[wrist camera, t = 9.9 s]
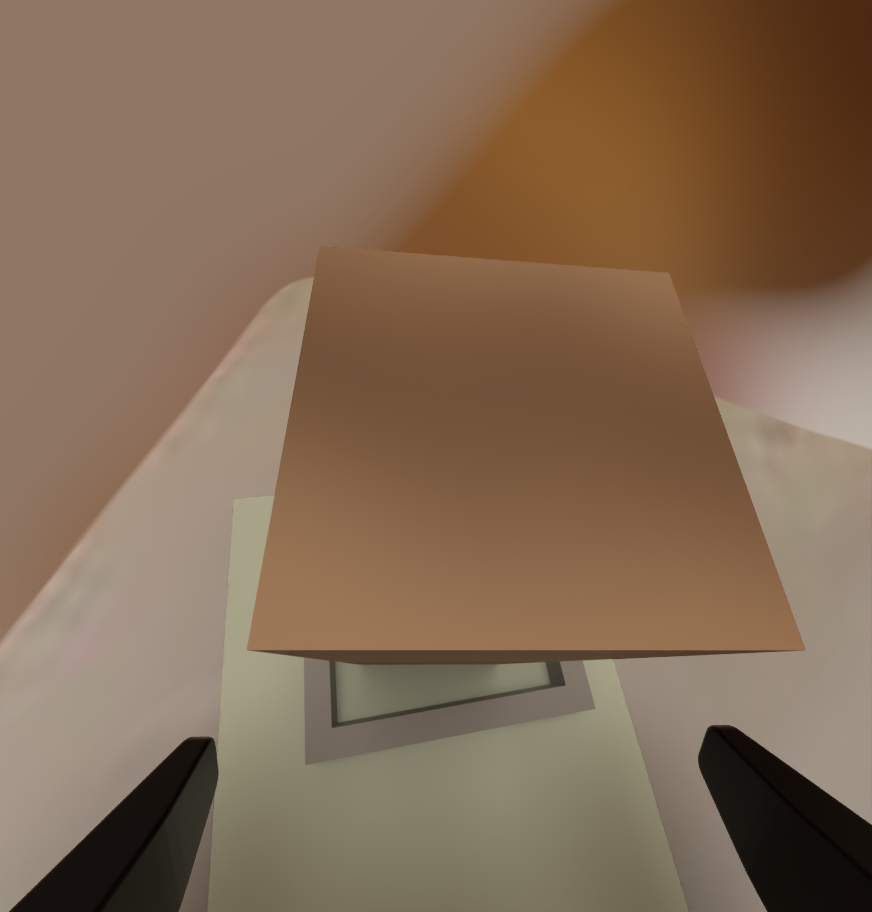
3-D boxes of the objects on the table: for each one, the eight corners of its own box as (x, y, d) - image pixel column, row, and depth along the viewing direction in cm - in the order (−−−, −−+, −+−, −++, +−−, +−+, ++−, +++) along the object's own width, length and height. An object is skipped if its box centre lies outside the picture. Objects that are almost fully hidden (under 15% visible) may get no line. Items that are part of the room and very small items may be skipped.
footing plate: (684, 970, 13) (757, 1045, 11) (214, 1111, 11) (158, 1248, 9) (544, 479, 21) (566, 451, 18) (245, 511, 19) (220, 485, 16)
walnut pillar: (497, 664, 15) (805, 650, 4) (359, 664, 15) (246, 651, 3) (489, 531, 18) (668, 272, 6) (369, 528, 17) (319, 246, 6)
